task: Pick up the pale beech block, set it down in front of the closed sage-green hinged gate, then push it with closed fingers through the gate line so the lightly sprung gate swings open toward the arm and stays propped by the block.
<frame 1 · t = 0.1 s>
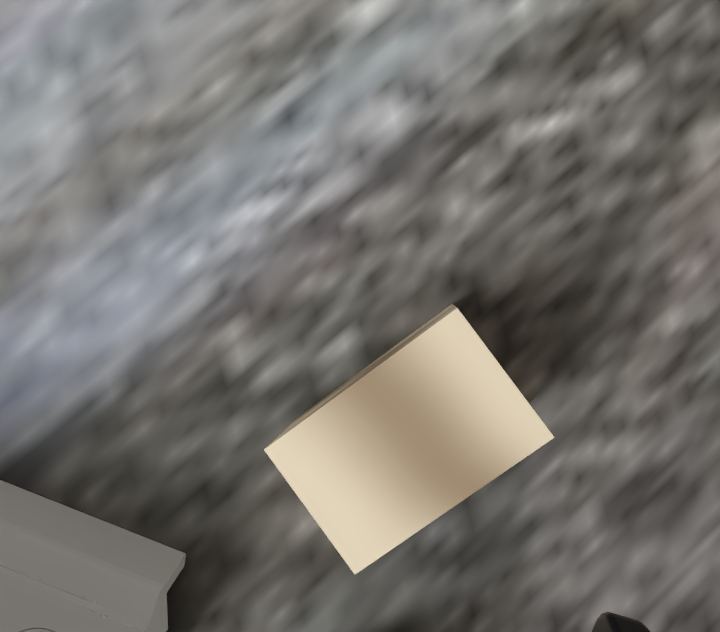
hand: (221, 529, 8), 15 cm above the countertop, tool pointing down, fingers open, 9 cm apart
block: (411, 410, 23), on the countertop
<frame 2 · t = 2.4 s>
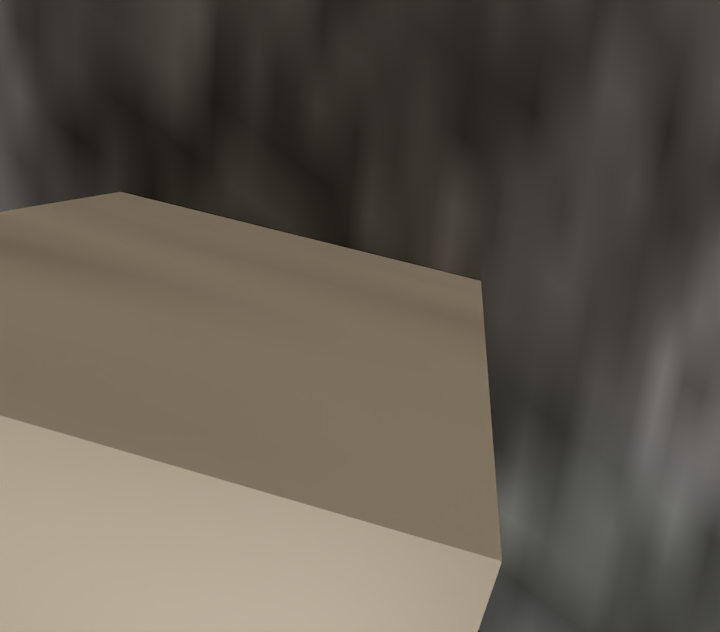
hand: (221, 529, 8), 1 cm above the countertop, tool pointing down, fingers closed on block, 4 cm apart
block: (250, 483, 9), on the countertop, touching gripper
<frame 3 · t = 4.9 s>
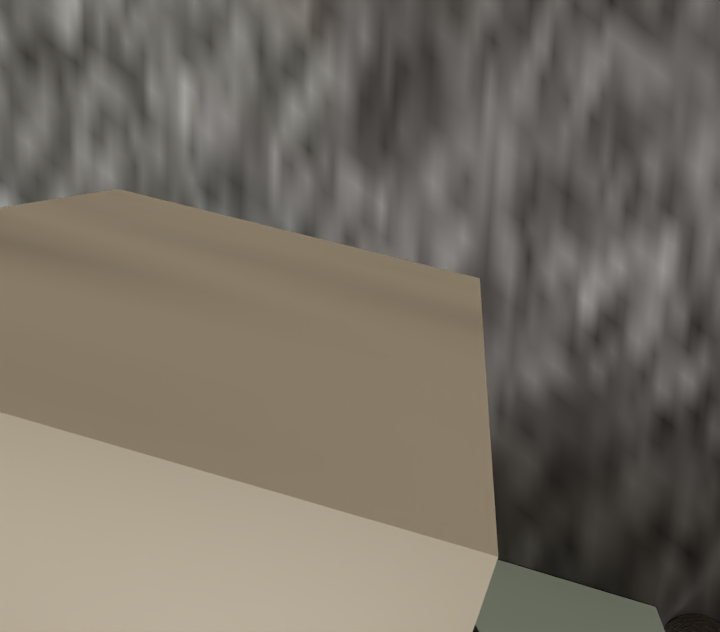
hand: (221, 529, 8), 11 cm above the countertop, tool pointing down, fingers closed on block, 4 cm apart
block: (248, 481, 8), point 10 cm above the countertop, touching gripper
door: (443, 604, 17), point 3 cm above the countertop, hinge at 0.0°
when the fingers open (1 cm above the countertop, at t = 7.4 s): block stays where it is, on the countertop.
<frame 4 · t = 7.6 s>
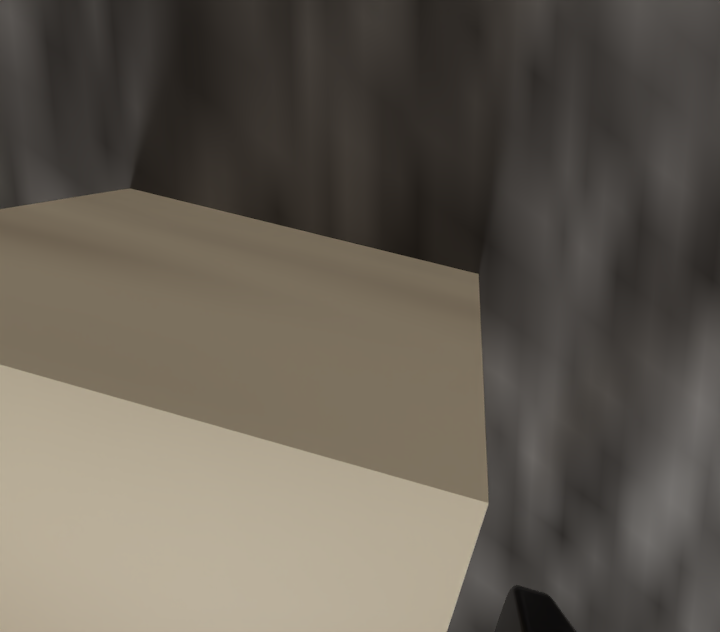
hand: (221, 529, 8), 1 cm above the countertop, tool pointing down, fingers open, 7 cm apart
block: (257, 467, 9), on the countertop
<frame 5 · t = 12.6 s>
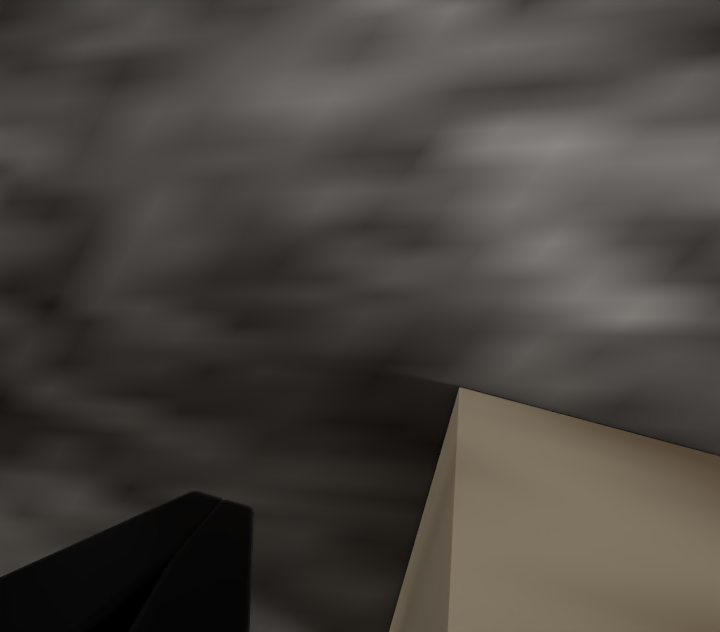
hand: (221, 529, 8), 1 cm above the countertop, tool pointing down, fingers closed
block: (685, 618, 8), on the countertop, touching gripper
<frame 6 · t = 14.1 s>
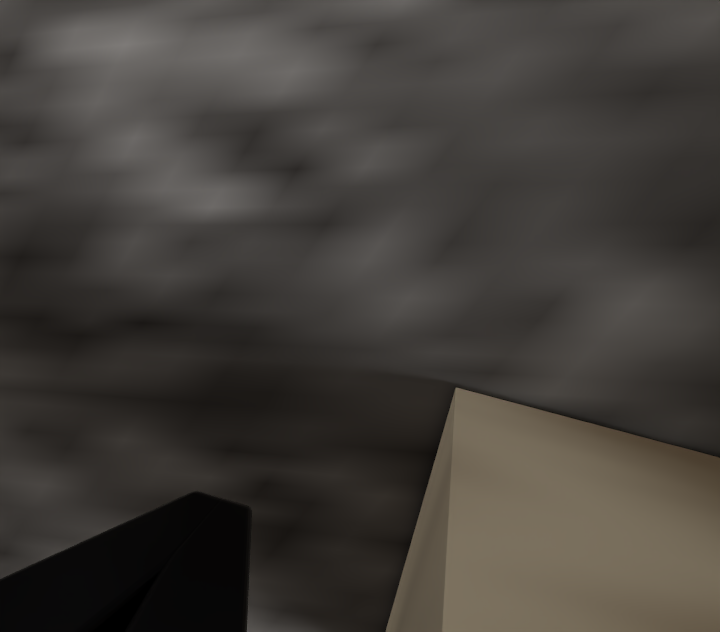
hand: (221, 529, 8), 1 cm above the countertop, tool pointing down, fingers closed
block: (681, 618, 8), on the countertop, touching door, gripper
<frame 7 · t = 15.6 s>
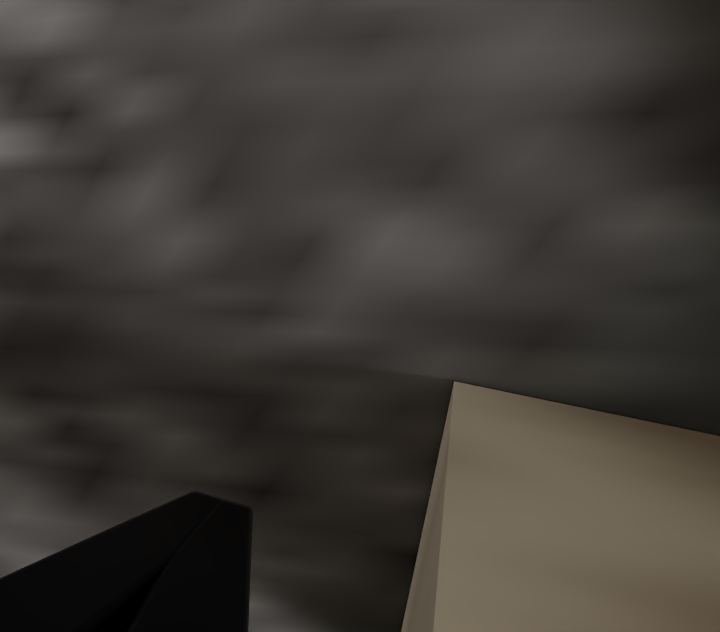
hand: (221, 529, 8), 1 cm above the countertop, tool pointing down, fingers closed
block: (696, 601, 8), on the countertop, touching door, gripper
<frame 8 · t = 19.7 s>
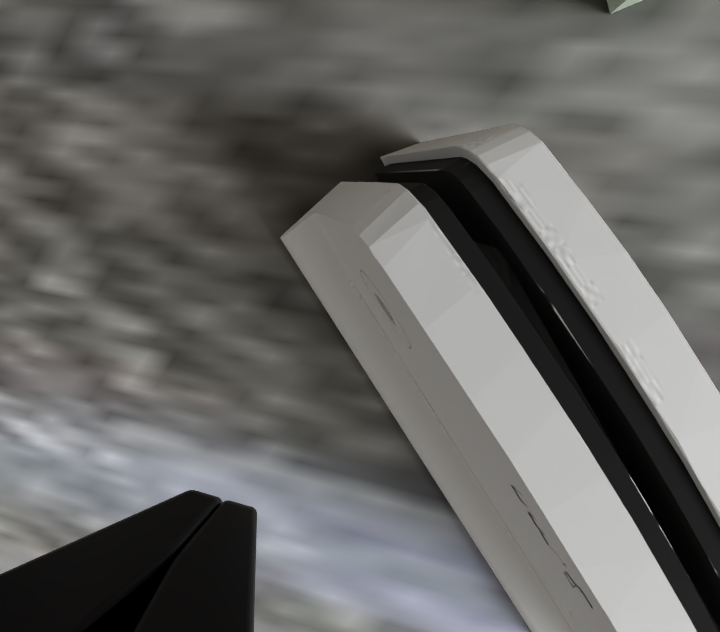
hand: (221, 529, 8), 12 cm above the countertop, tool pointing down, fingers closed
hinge: (523, 392, 19), on the countertop
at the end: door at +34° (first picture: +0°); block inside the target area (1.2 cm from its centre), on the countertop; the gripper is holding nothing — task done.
